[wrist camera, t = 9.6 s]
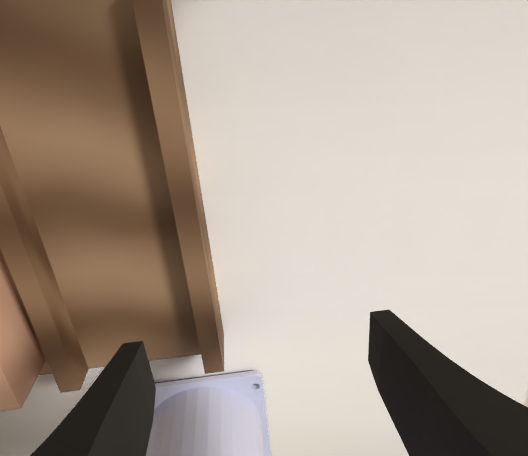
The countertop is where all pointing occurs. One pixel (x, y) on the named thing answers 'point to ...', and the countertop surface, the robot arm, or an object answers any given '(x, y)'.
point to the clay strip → (15, 349)
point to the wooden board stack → (102, 186)
